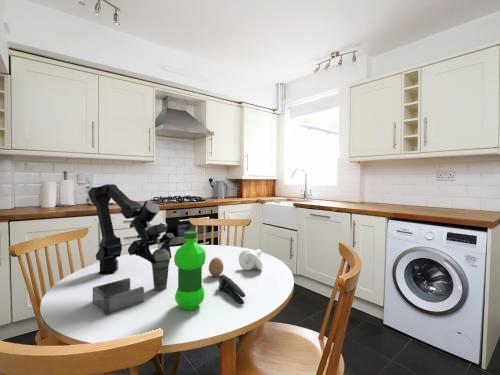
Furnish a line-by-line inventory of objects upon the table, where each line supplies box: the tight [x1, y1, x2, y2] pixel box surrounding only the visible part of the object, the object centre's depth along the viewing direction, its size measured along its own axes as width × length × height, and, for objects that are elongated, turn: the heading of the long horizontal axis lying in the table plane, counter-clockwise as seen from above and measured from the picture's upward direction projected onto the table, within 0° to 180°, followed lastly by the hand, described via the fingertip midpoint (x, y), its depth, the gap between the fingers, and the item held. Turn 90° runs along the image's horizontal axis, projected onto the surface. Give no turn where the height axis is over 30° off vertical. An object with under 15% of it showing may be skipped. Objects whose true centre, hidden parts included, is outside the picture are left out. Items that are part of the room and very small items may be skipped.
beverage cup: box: [150, 237, 171, 292], centre depth 101 cm, size 7×7×20 cm
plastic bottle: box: [173, 230, 207, 311], centre depth 87 cm, size 10×10×25 cm
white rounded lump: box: [238, 248, 264, 271], centre depth 126 cm, size 11×12×9 cm
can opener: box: [218, 274, 246, 305], centre depth 97 cm, size 18×7×6 cm, turn 29°
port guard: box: [92, 277, 145, 316], centre depth 90 cm, size 12×12×5 cm
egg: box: [208, 257, 224, 277], centre depth 115 cm, size 6×6×8 cm
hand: (163, 260), depth 100 cm, fingers closed on beverage cup, 7 cm apart
